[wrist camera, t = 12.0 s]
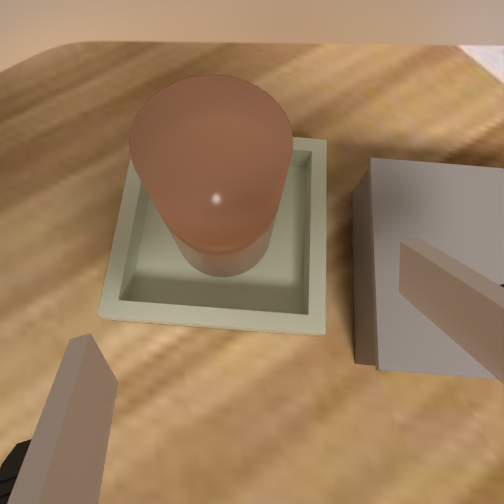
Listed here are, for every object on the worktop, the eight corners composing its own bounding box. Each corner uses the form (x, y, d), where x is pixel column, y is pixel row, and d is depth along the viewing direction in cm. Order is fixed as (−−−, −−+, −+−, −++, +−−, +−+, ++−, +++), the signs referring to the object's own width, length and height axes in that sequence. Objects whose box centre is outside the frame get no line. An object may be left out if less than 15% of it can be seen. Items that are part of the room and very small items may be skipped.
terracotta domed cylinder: (170, 273, 21) (114, 206, 12) (183, 186, 23) (144, 68, 14) (268, 280, 22) (290, 219, 12) (273, 193, 23) (295, 81, 14)
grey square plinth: (352, 366, 21) (379, 370, 17) (349, 189, 24) (370, 157, 20) (578, 384, 21) (659, 391, 17) (541, 205, 24) (600, 176, 20)
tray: (113, 320, 21) (97, 316, 19) (147, 146, 25) (137, 124, 22) (316, 336, 21) (325, 334, 19) (318, 160, 25) (326, 139, 23)
